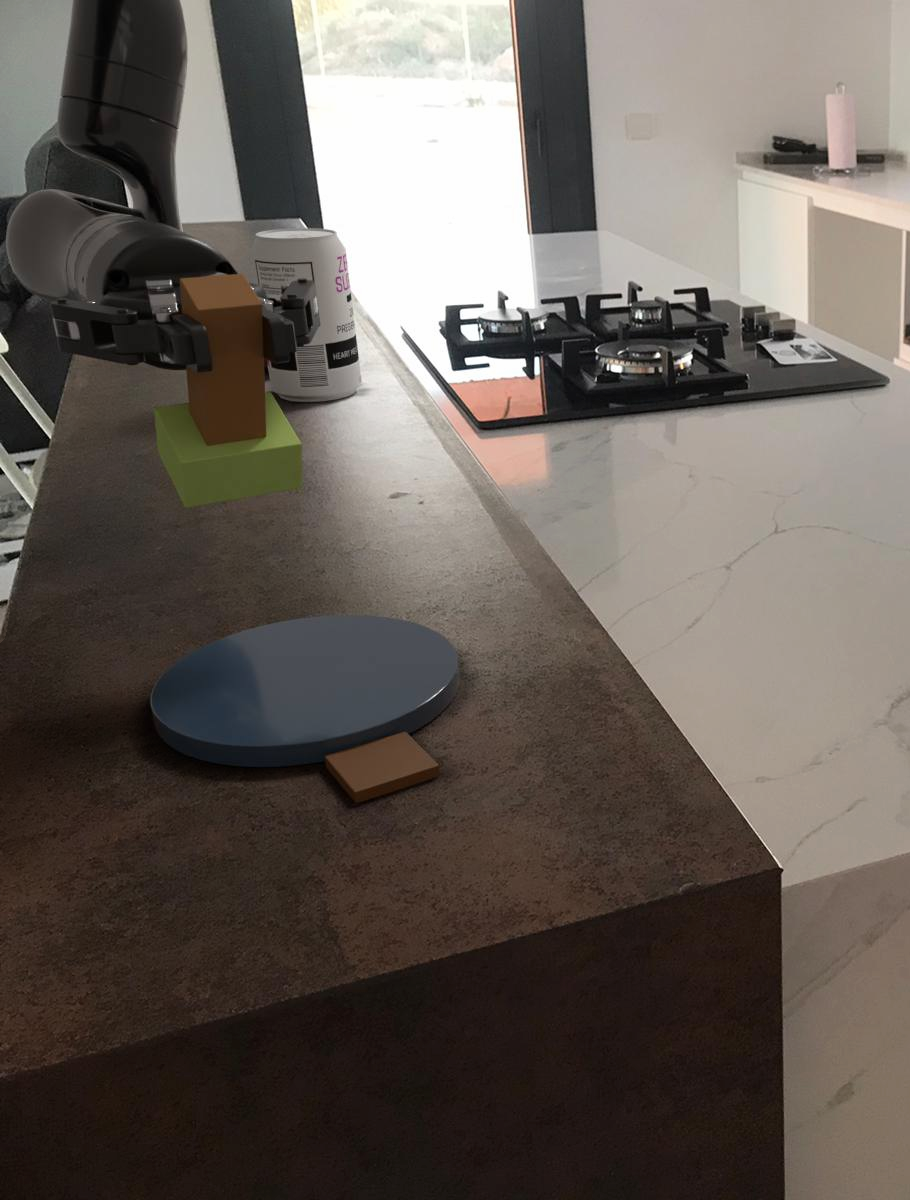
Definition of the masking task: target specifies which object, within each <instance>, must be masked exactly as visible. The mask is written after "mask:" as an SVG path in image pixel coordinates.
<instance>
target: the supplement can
mask: <svg viewBox="0 0 910 1200" xmlns="http://www.w3.org/2000/svg"><path fill="white" fill-rule="evenodd" d="M337 234H338V233H337V231H336V230H333V229H328V228H316V227H315V228H311V227H307V228H306V227H302V228H301V227H299V228H297V227H296V228H280V229H279V228H278V229H270V230H269V229H268V230H263V231H259V232H256V233H255V239H254V242H253V244H252V247H251V250H250V259H251V265H252V271H253V278H254V284H258V285H260V286H262V287H263V288H264V289H265V291H266V293H267V295H278V294H282V292H281V285H285V284H288V285H290V283H291V282H292V281H297V280H298V279H300V278H306V279H307V280H312V281H314V283H315V291H316V298H317V305H318V314H319V321H320V325H319V327H318V329H317V331H316V333H315V335H314V337H313V339H312V341H311V343H309V344H305V345H304V346H301V347H297V352H295V353H290V361H289V362H285V363H276V364H274V363H272V362H271V361H269V360H267V364H268V369H267V370H268V376H269V383H270V389H271V390H272V391H273V393H274V394H277V395H278V396H279V398H280V399H283V400H285V401H289V402H298V403H318V402H319V403H320V402H328V401H329V402H330V401H336V400H340V399H344V398H347V397H350V396H352V395H354V394H355V393H356V392H357V389H358V388H360V387H361V385H362V383H363V382H362V380H363V379H362V374H361V372H362V371H361V366H360V364H361V363H360V356H359V349H358V341H357V332H356V324H355V315H354V307H353V300H352V291H351V283H350V275H349V266H348V257H347V249H346V247H345V246H344V244H343V242H342V241H341V240H340V238H339V236H338V235H337Z"/></svg>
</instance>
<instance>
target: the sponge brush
mask: <svg viewBox="0 0 910 1200" xmlns="http://www.w3.org/2000/svg"><path fill="white" fill-rule="evenodd" d="M249 283H250V282H249V281H248V280H247V278H246V276H245V275H244V273H238V274H232V275H220V276H207V277H194V278H181V279H180V292H181V306H182V314H186V315H188V316H190V317H191V318H193V319H194V320H196V321H197V322H200V323H201V324H203V325H204V326H205V328H206V331H207V335H208V340H209V346H210V352H211V358H212V365H213V370H212V371H208V372H200V373H196V372H195V371H193V370H192V369H191V368H189V367H188V366H187V365H186V370H185V371H186V381H187V398H188V402H183V403H175V404H167V405H161V406H154V407H153V414H154V416H153V417H154V425H155V434H156V435H155V436H156V445H157V446H156V447H157V454H158V455H159V458H160V460H161V461H162V464H163V466H164V467H165V469H166V472H167V473H168V475H169V478H170V480H171V482H172V484H173V486H174V489H175V490H176V492H177V494H178V496H179V499H180V500H181V502H182V504H183V506H184V508H186V509H188V508H194V507H199V506H205V505H212V504H218V503H223V502H228V501H234V500H235V501H236V500H240V499H245V498H246V499H247V498H253V497H258V496H264V495H271V494H275V493H281V492H287V491H293V490H299V489H303V444H302V442H301V441H300V438H299V437H298V435H297V434H296V433H295V431H294V428H293V427H292V426H291V424H290V422H289V420H288V418H287V417H286V416H285V414H284V412H283V410H282V409H281V407H280V405H279V404H278V402H277V401H276V399H275V397H274V396H273V394H272V392H271V391H268V392H267V391H266V379H265V377H266V376H265V375H266V373H265V367H264V353H263V321H262V316H263V307H262V303H261V302H260V300H259V299H258V297H257V295H256V294H255V292H254V291H253V289H252V287H251V286H250V284H249Z"/></svg>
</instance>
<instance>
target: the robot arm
mask: <svg viewBox="0 0 910 1200" xmlns="http://www.w3.org/2000/svg"><path fill="white" fill-rule="evenodd" d="M70 15H71V16H70V25H69V32H68V38H67V44H66V46H67V47H66V50H65V51H66V52H65V54H66V55H65V59H64V67H63V73H62V74H63V75H62V82H61V88H60V98H59V103H58V111H57V121H56V132H57V136H58V139H59V141H60V142H61V143H62V145H63V146H64V147H65V148H66V149H68V150H69V151H71V152H73V153H74V154H76V155H78V156H80V157H82V158H84V159H86V160H89V161H91V162H93V163H95V164H98V165H99V166H101V167H103V168H105V169H107V170H109V171H111V172H112V173H114V174H115V175H117V176H118V177H119V178H120V179H121V180H122V182H123V183H124V184H125V185H126V187H127V190H128V191H129V194H130V197H131V201H132V207H129V206H124V205H121V204H117V203H113V202H109V201H106V200H101V199H98V198H94V197H89V196H86V195H82V194H77V193H74V192H69V191H65V190H61V189H56V188H55V189H52V188H48V189H40V190H37V191H33V192H32V193H30V194H28V195H26V196H25V198H23V199H22V200H20V202H19V203H18V205H16V207H15V209H14V210H13V212H12V214H11V216H10V217H9V220H8V224H7V229H6V233H5V234H6V235H5V248H6V254H7V258H8V262H9V264H10V268H11V269H12V272H13V274H14V275H15V277H16V278H17V280H18V282H19V283H20V284H21V286H23V288H25V289H26V290H27V291H28V292H29V293H31V294H32V295H34V296H36V297H38V298H40V299H42V300H45V301H47V302H49V306H50V307H49V308H50V312H51V317H52V322H53V327H54V332H55V336H56V340H57V345H58V349H59V352H61V353H67V354H72V355H77V356H82V357H87V358H91V359H97V360H102V361H107V362H112V363H116V364H120V365H121V364H122V365H127V366H137V365H139V364H142V363H143V364H146V365H149V366H151V367H154V368H158V369H162V370H168V371H186V365H187V366H188V367H189V368H191V369H192V370H193V371H195V372H196V373H200V372H208V371H212V370H213V365H212V358H211V352H210V346H209V340H208V335H207V331H206V328H205V326H204V325H203V324H201V323H200V322H197V321H196V320H194V319H193V318H191V317H190V316H188V315H186V314H182V306H181V292H180V279H181V278H194V277H207V276H220V275H232V274H239V272H238V271H237V270H236V268H235V267H234V265H233V264H232V263H231V262H230V261H229V260H228V258H227V257H226V256H225V255H224V254H223V253H221V252H220V251H219V250H218V249H216V248H215V247H214V246H212V245H210V244H209V243H207V242H205V241H203V240H201V239H199V238H197V237H195V236H193V235H190V234H189V233H186V232H184V231H183V225H182V218H181V211H180V205H179V204H180V203H179V196H178V181H177V147H178V138H179V129H180V126H181V125H180V124H181V119H182V118H181V117H182V111H183V104H184V99H185V98H184V97H185V90H186V84H187V78H188V77H187V76H188V67H189V66H188V65H189V41H188V30H187V24H186V19H185V14H184V10H183V6H182V3H181V0H72V6H71V14H70ZM248 283H249V284H250V286H251V287H252V289H253V291H254V292H255V294H256V295H257V297H258V299H259V300H260V302H261V303H262V307H263V316H262V321H263V353H264V358H266V359H267V360H269V361H271V362H272V363H274V364H276V363H285V362H289V361H290V353H295V352H297V347H301V346H304V345H305V344H309V343H311V341H312V339H313V337H314V335H315V333H316V331H317V329H318V327H319V325H320V321H319V314H318V305H317V298H316V291H315V283H314V281H312V280H307V279H306V278H300V279H298V280H297V281H292V282H291V283H290V285H288V284H285V285H281V292H282V294H278V295H267V293H266V291H265V289H264V288H263V287H262V286H260V285H258V284H255V282H253V283H252V282H248Z"/></svg>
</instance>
